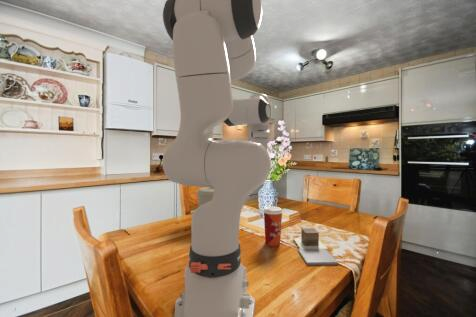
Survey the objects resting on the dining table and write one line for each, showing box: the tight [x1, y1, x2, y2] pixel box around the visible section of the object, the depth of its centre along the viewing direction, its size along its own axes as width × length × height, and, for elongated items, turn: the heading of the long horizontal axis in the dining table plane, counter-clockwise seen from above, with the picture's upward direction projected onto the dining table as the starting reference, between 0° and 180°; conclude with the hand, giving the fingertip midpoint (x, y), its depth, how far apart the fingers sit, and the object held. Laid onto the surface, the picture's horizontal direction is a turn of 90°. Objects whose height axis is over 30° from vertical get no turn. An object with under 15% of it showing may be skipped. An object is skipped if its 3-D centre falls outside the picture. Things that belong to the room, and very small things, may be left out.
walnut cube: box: [300, 227, 320, 246], centre depth 87 cm, size 5×5×5 cm
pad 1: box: [293, 237, 329, 251], centre depth 87 cm, size 10×10×1 cm
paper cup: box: [262, 205, 284, 247], centre depth 89 cm, size 8×8×14 cm
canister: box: [195, 187, 214, 207], centre depth 113 cm, size 18×18×21 cm
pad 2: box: [297, 248, 339, 266], centre depth 77 cm, size 10×10×1 cm
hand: (258, 168), depth 94 cm, fingers open, 8 cm apart
